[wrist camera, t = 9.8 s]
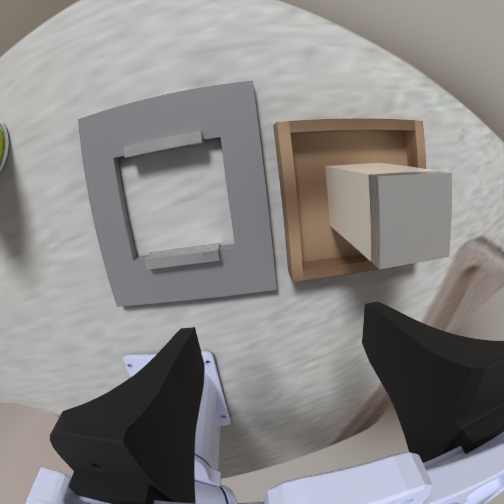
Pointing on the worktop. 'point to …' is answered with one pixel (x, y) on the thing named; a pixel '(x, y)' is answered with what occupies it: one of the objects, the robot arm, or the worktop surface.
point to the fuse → (391, 211)
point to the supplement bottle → (3, 144)
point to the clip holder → (238, 185)
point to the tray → (315, 186)
